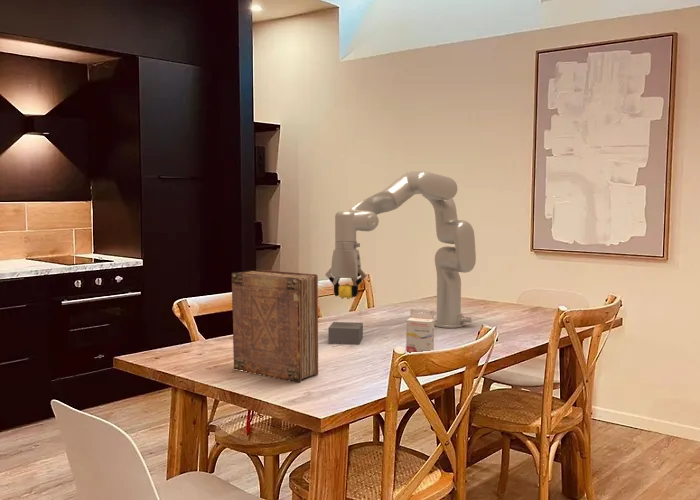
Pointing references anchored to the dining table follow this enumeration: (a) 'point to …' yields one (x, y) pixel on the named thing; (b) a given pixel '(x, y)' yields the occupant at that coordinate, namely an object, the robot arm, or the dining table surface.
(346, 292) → the yellow rounded lump
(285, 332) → the book
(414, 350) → the ink cartridge box
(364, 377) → the dining table surface
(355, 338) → the charcoal base block
